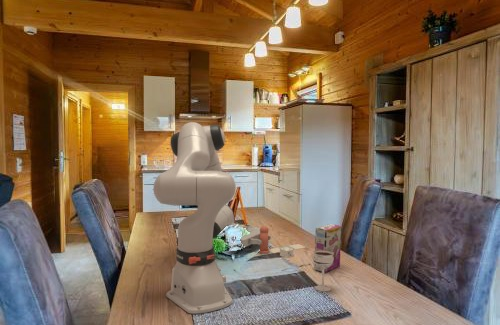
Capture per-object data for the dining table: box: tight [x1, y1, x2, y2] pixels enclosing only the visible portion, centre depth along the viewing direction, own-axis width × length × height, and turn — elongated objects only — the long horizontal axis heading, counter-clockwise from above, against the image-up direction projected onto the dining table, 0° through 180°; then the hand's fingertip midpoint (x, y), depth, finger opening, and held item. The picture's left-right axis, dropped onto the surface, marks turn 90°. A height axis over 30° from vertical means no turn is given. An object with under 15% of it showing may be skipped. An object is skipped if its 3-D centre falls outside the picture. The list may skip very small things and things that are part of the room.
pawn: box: [258, 225, 270, 255], centre depth 145 cm, size 5×5×12 cm
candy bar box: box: [313, 223, 342, 274], centre depth 129 cm, size 11×5×16 cm, turn 135°
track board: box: [252, 243, 309, 258], centre depth 149 cm, size 10×30×1 cm, turn 119°
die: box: [279, 247, 294, 259], centre depth 141 cm, size 4×4×4 cm
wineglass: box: [312, 249, 334, 292], centre depth 111 cm, size 7×7×12 cm
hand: (265, 240), depth 145 cm, fingers open, 6 cm apart
